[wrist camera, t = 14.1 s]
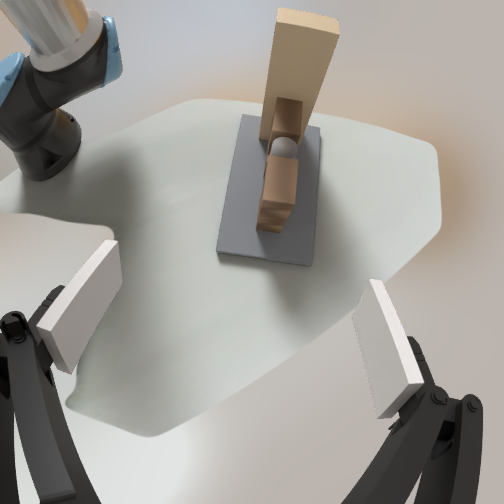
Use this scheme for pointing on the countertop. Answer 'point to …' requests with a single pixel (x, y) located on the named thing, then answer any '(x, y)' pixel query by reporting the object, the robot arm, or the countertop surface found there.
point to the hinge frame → (256, 142)
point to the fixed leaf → (285, 122)
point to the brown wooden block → (278, 186)
